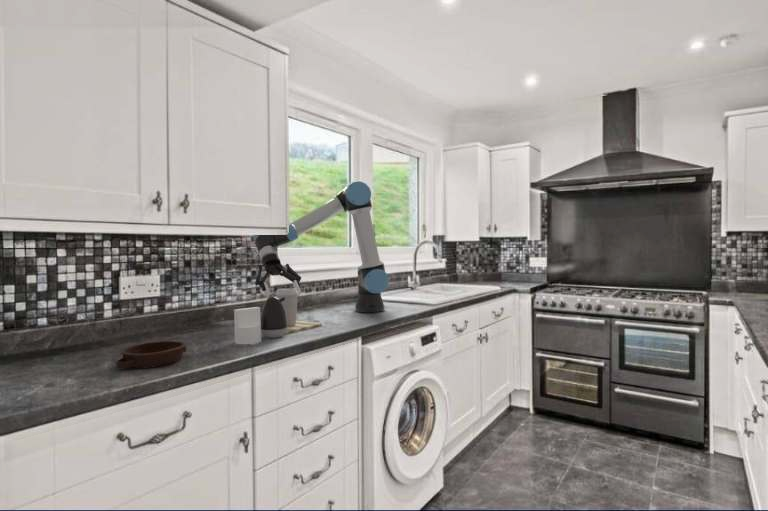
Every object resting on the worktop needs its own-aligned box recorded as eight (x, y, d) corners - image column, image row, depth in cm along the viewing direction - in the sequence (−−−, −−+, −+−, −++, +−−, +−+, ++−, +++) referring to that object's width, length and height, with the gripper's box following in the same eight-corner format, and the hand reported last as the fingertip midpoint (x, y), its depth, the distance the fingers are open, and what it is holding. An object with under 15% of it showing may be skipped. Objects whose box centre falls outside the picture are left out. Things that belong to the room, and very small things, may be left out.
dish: (205, 357, 142) (204, 341, 141) (140, 376, 122) (139, 357, 122) (166, 352, 149) (166, 337, 149) (99, 369, 130) (99, 352, 129)
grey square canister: (253, 338, 168) (252, 306, 168) (265, 341, 162) (265, 308, 161) (230, 342, 162) (229, 308, 162) (242, 346, 155) (241, 311, 155)
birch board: (289, 321, 203) (289, 319, 203) (322, 325, 191) (322, 323, 191) (252, 329, 187) (252, 326, 187) (286, 334, 175) (286, 331, 175)
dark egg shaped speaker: (293, 336, 170) (292, 296, 170) (269, 341, 163) (268, 298, 162) (278, 333, 177) (277, 294, 177) (254, 337, 170) (253, 296, 169)
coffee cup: (304, 324, 189) (303, 288, 189) (284, 328, 182) (283, 290, 182) (291, 322, 196) (290, 287, 196) (271, 325, 189) (270, 289, 189)
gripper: (293, 262, 212) (308, 297, 200) (240, 265, 197) (253, 303, 185) (298, 251, 207) (313, 286, 195) (243, 253, 193) (257, 291, 181)
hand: (284, 294), depth 190 cm, fingers open, 13 cm apart
